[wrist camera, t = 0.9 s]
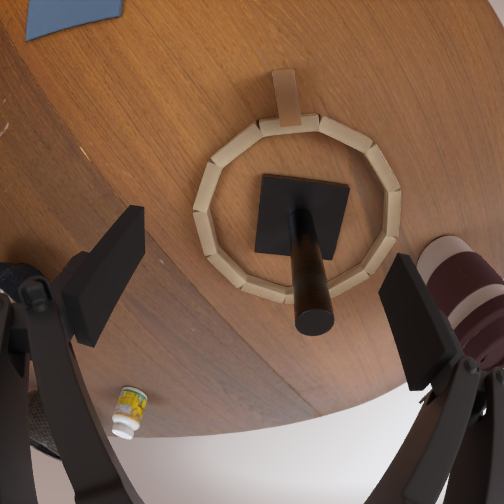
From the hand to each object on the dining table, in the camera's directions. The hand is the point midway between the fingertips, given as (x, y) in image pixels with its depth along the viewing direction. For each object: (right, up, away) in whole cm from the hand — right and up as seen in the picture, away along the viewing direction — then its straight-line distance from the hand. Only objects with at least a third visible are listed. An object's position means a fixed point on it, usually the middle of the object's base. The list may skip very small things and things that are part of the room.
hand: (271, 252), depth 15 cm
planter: (-52, -38, +46) cm, 79 cm away
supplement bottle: (-24, -27, +37) cm, 51 cm away
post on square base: (+4, +3, +14) cm, 15 cm away
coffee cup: (+21, -1, +16) cm, 27 cm away
